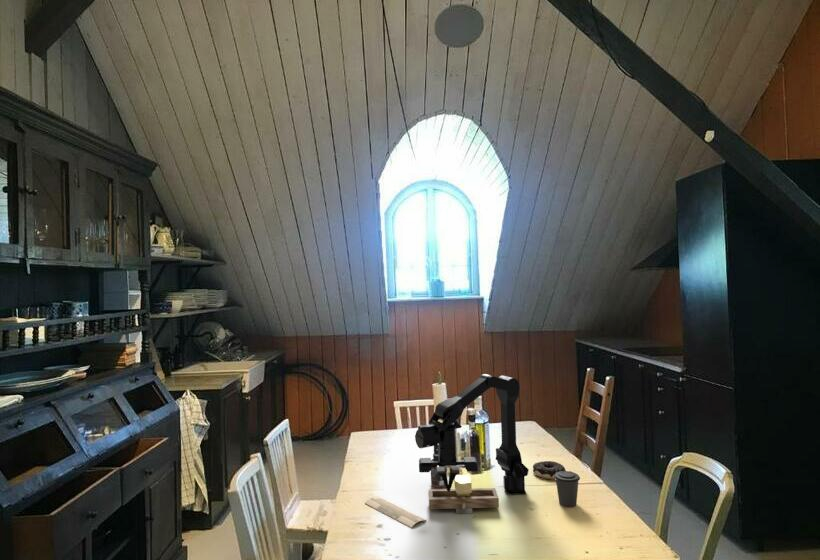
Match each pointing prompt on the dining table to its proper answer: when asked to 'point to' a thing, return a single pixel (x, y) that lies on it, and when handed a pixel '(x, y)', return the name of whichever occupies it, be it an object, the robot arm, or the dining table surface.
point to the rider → (463, 485)
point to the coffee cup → (567, 488)
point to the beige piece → (394, 511)
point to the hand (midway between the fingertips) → (448, 490)
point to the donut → (547, 469)
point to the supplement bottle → (436, 475)
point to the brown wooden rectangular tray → (463, 500)
